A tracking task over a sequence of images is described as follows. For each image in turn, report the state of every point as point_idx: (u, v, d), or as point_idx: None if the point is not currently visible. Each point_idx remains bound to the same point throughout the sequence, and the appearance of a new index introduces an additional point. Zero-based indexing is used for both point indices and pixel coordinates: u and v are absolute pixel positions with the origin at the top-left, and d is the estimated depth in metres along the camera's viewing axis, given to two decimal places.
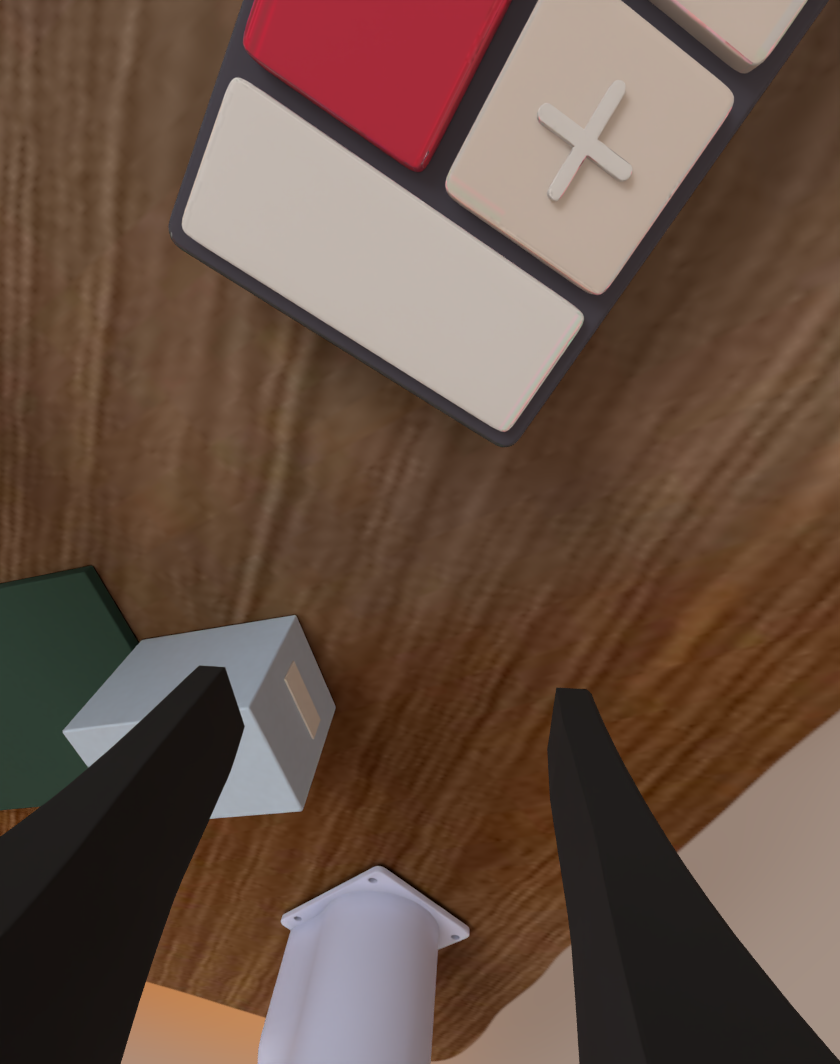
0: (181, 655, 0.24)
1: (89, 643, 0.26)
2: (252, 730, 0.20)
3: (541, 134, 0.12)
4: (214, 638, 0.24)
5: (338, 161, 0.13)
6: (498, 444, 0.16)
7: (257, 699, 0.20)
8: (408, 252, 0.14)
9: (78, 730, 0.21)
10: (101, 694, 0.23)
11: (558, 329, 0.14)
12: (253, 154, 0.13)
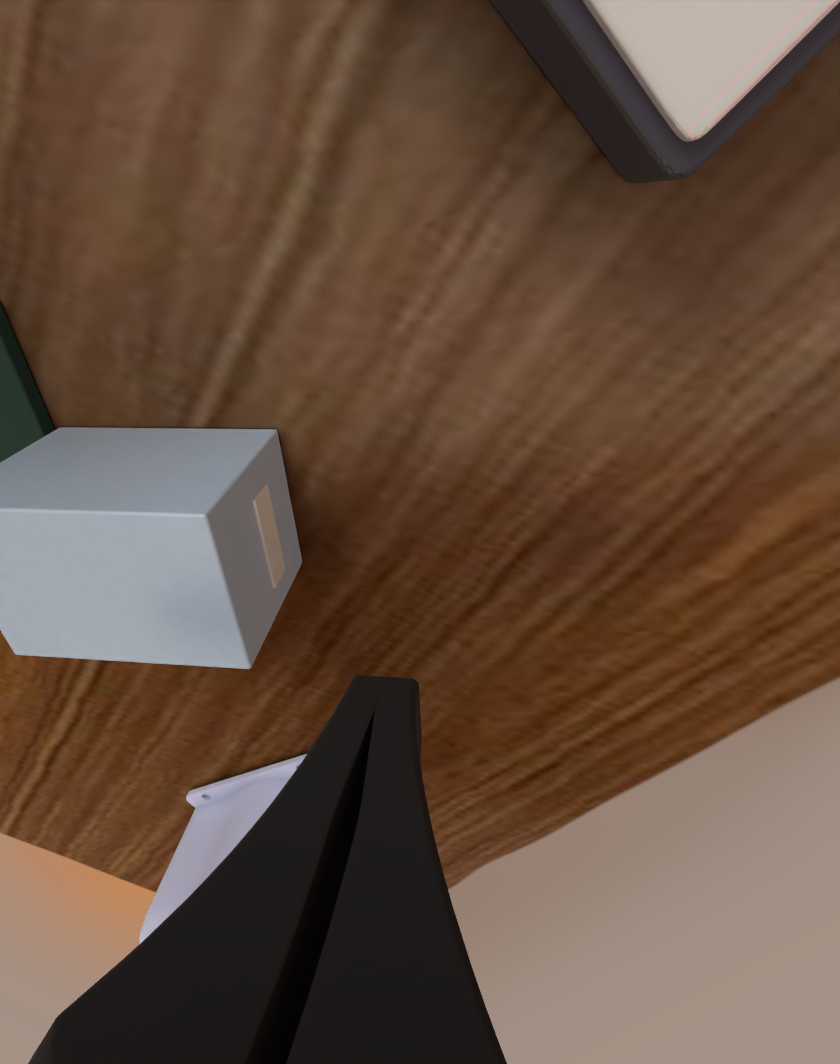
0: (114, 448, 0.18)
1: None
2: (205, 549, 0.14)
3: None
4: (162, 438, 0.18)
5: None
6: (668, 169, 0.10)
7: (217, 509, 0.14)
8: None
9: None
10: None
11: None
12: None
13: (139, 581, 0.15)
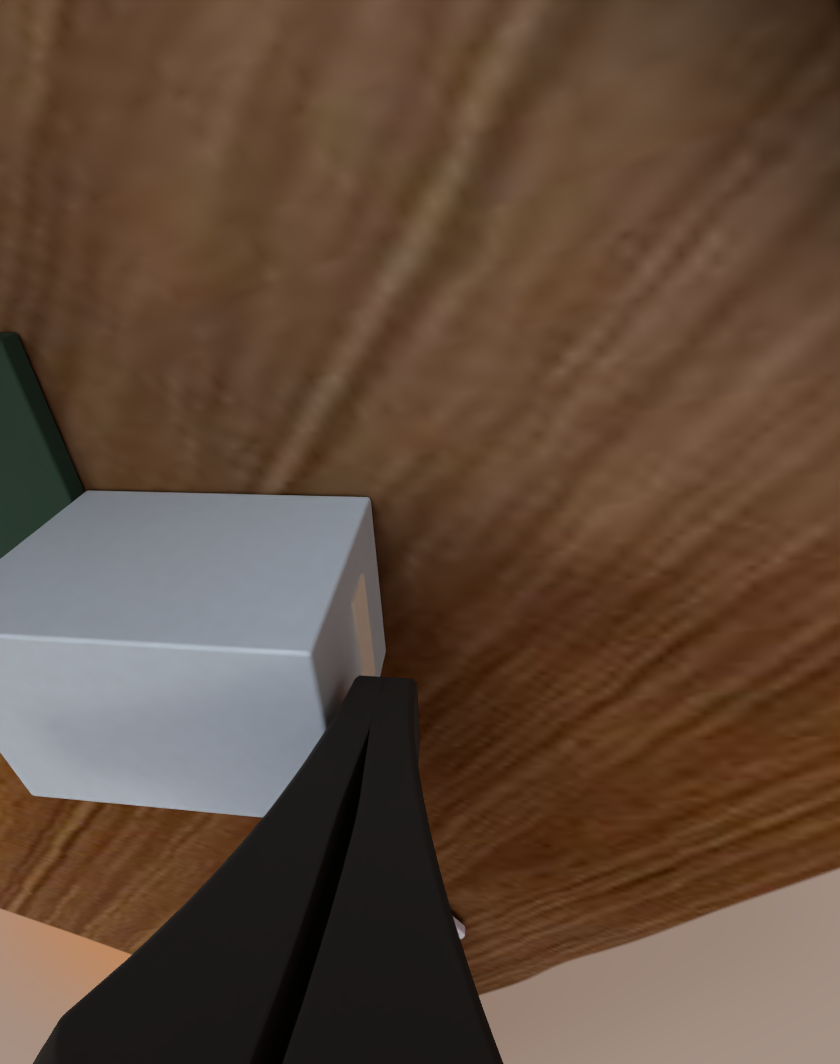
0: (161, 527, 0.13)
1: None
2: (304, 693, 0.10)
3: None
4: (222, 510, 0.14)
5: None
6: None
7: (322, 637, 0.10)
8: None
9: None
10: (2, 571, 0.12)
11: None
12: None
13: (206, 726, 0.11)
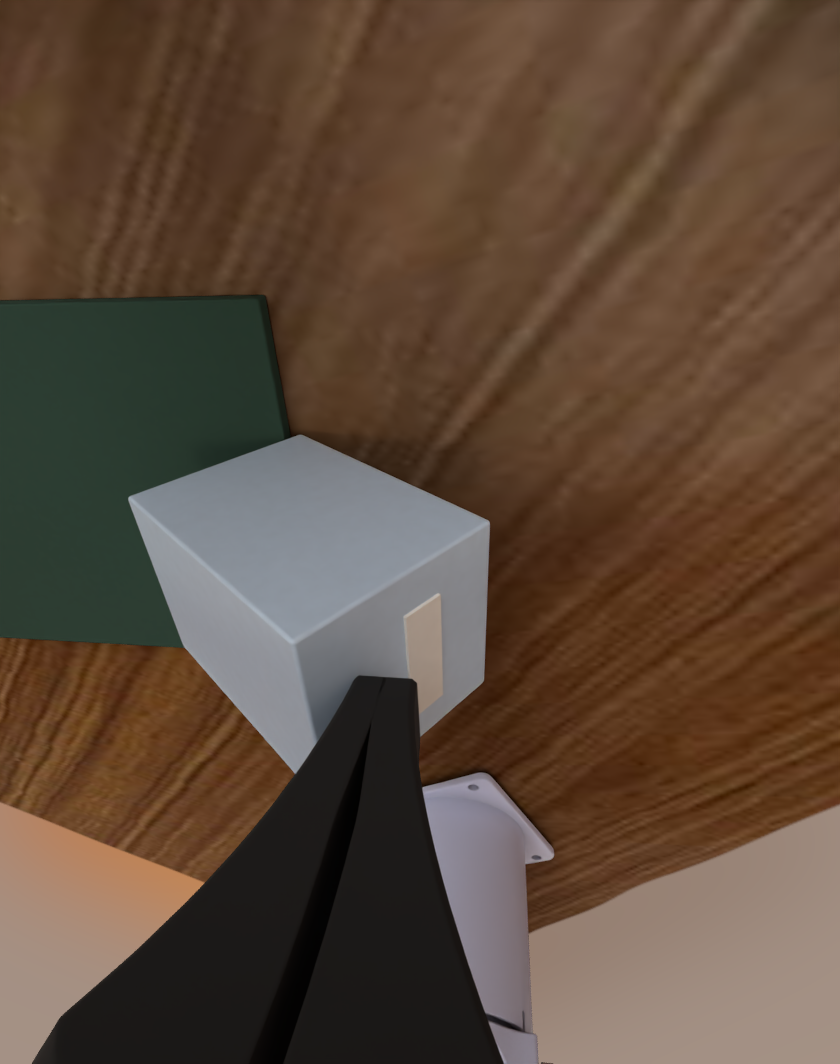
0: (311, 483, 0.15)
1: (223, 421, 0.17)
2: (292, 676, 0.11)
3: None
4: (363, 485, 0.15)
5: None
6: None
7: (321, 633, 0.10)
8: None
9: (137, 507, 0.14)
10: (200, 476, 0.16)
11: None
12: None
13: (246, 660, 0.13)
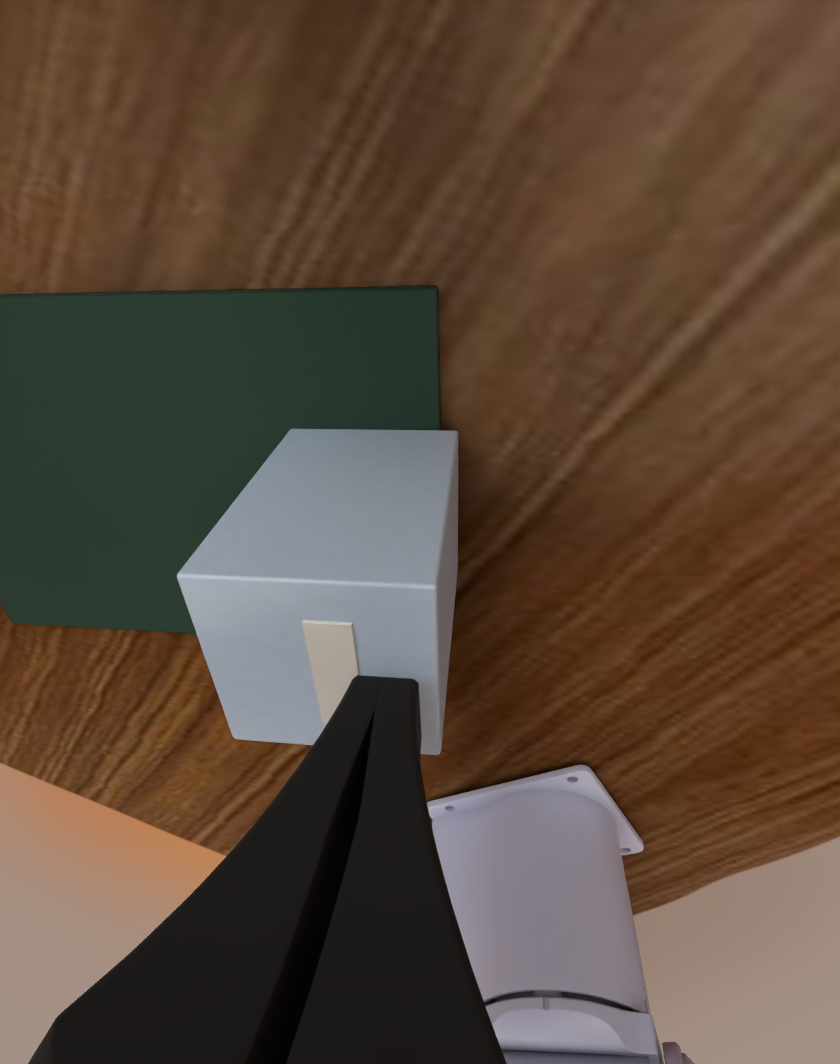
0: (386, 474, 0.15)
1: (379, 411, 0.18)
2: (192, 604, 0.12)
3: None
4: (413, 495, 0.14)
5: None
6: None
7: (203, 583, 0.12)
8: None
9: None
10: (342, 434, 0.18)
11: None
12: None
13: None
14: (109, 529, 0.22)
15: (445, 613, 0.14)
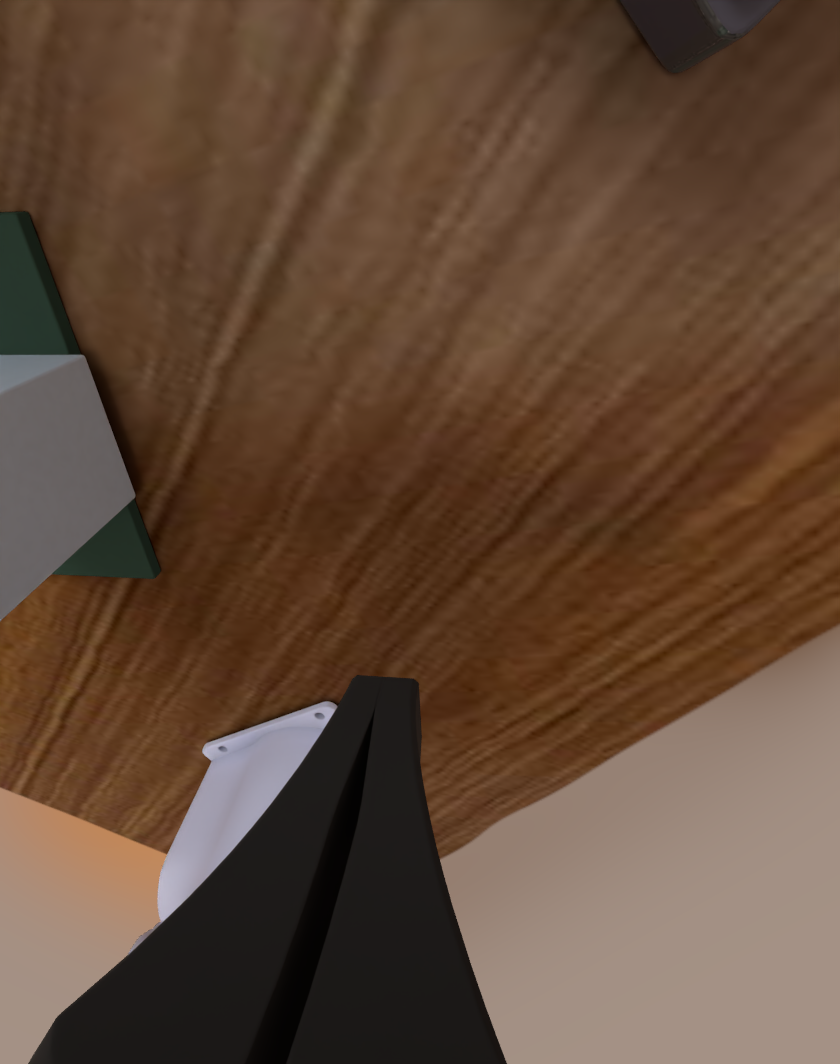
0: None
1: (10, 336, 0.19)
2: None
3: None
4: None
5: None
6: (721, 28, 0.10)
7: None
8: None
9: None
10: None
11: None
12: None
13: None
14: None
15: None
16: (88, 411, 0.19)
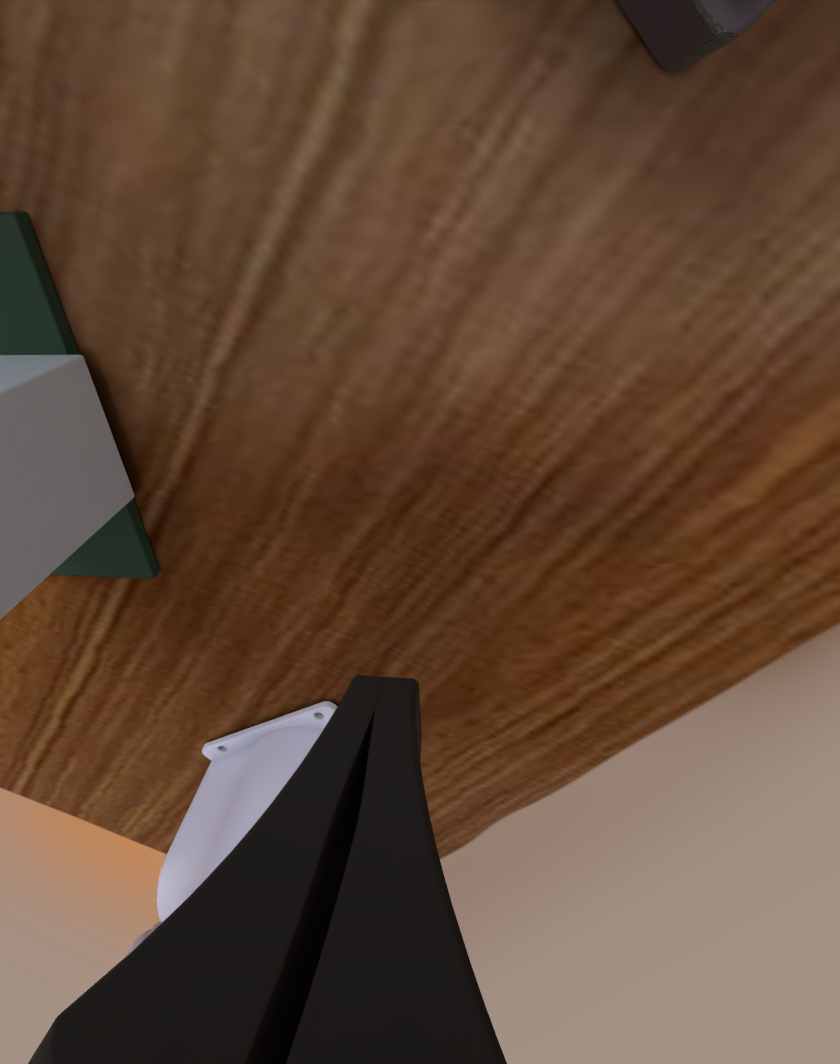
0: None
1: (9, 337, 0.19)
2: None
3: None
4: None
5: None
6: (717, 27, 0.10)
7: None
8: None
9: None
10: None
11: None
12: None
13: None
14: None
15: None
16: (87, 411, 0.19)
